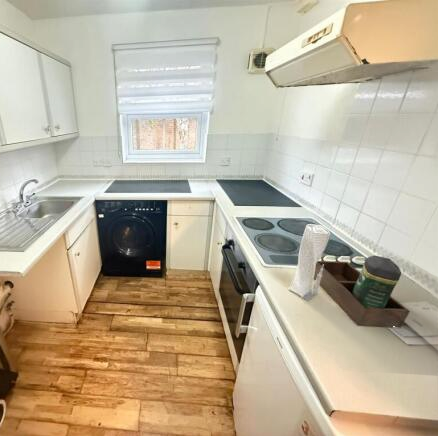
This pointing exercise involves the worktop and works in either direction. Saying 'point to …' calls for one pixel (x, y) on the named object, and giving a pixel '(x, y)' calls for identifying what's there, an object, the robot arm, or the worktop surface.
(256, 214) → the worktop surface
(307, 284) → the skyscraper
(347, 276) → the organiser
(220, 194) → the worktop surface
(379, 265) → the coffee jar
